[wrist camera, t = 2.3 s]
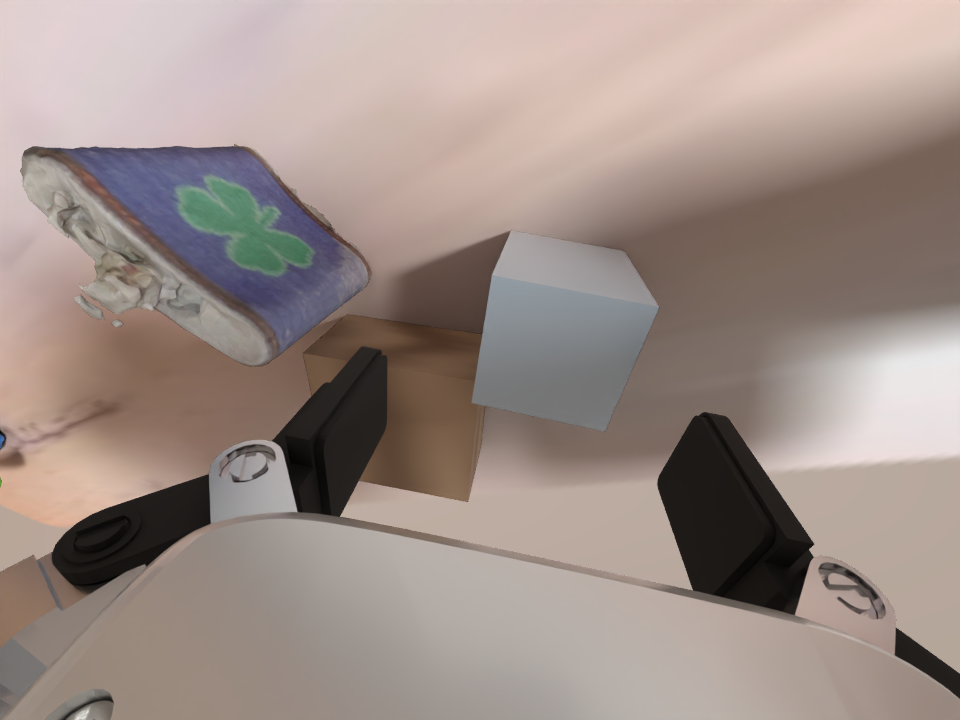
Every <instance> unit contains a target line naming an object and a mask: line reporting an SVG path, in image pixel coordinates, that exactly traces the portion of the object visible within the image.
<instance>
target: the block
mask: <svg viewBox="0 0 960 720" xmlns="http://www.w3.org/2000/svg"><path fill="white" fill-rule="evenodd" d="M481 340H482V334H477V333H471V332H464V331H457V330H450V329H443V328H437V327H430V326H423V325H416V324H410V323H403V322H396V321H389V320H382V319H376V318H369V317H362V316H355V315H348V314H347V315H346V316H345V317H344V318H343V319H342V320H340V321H339V322H338V323H337V324H336V325H335V326H334V327H332V328H331V329H330V330H329V331H328V332H327V333H325V334H324V335H323V336H322V337H321V338H320V339H319V340H317V341H316V342H315V343H314V344H313V345H312V346H311V347H309V348H308V349H307V350H306V351H305V352H304V353H303V357H304V361H305V366H306V371H307V375H308V380H309V385H310V390H311V394H312V395H313V394H314V393H315V392H316V391H317V390H318V389H319V388H320V386H321V385H323V384H324V383H326V382H329V383H330V382H331V381H332V380H333V379H334V377H335V376H336V375H337V374H338V373H339V372H340V371H341V369H342V368H343V367H344V366H345V365H346V364H347V362H348V361H349V360H350V359H351V358H352V357H353V355H354V354H355V353H356V352H357V351H358V350H359V348H360V347H362V346H365V347H370V348H375V349H380V350H381V351H382V355H386V356H387V425H386V429H385V432H384V434H383V436H382V438H381V440H380V442H379V443H378V445H377V447H376V449H375V451H374V453H373V455H372V457H371V459H370V460H369V462H368V464H367V466H366V468H365V470H364V472H363V474H362V476H361V478H360V479H359V481H363V482H369V483H374V484H379V485H384V486H389V487H394V488H399V489H404V490H409V491H414V492H420V493H425V494H430V495H435V496H440V497H445V498H450V499H455V500H460V501H466V502H468V500H469V496H470V492H471V487H472V483H473V479H474V474H475V470H476V466H477V461H478V457H479V453H480V448H481V441H482V432H483V423H484V414H485V406H483V405H479V404H474V403H472V397H473V390H474V384H475V378H476V372H477V365H478V359H479V353H480V346H481Z"/></svg>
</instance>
